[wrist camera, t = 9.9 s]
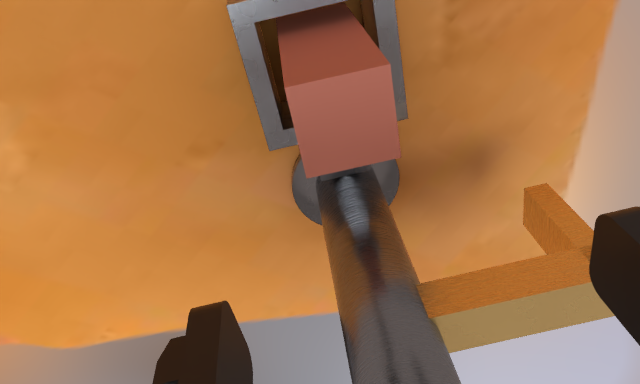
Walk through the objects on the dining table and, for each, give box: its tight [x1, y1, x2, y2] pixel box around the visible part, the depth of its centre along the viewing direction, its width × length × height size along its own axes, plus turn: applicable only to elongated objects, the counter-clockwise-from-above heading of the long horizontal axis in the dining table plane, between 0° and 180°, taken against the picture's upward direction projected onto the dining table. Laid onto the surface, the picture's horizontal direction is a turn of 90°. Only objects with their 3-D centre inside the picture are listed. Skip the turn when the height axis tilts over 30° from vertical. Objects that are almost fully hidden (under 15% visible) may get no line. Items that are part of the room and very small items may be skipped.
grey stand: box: [226, 0, 615, 384], centre depth 21 cm, size 16×14×20 cm
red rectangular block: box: [276, 2, 401, 178], centre depth 23 cm, size 4×4×11 cm
